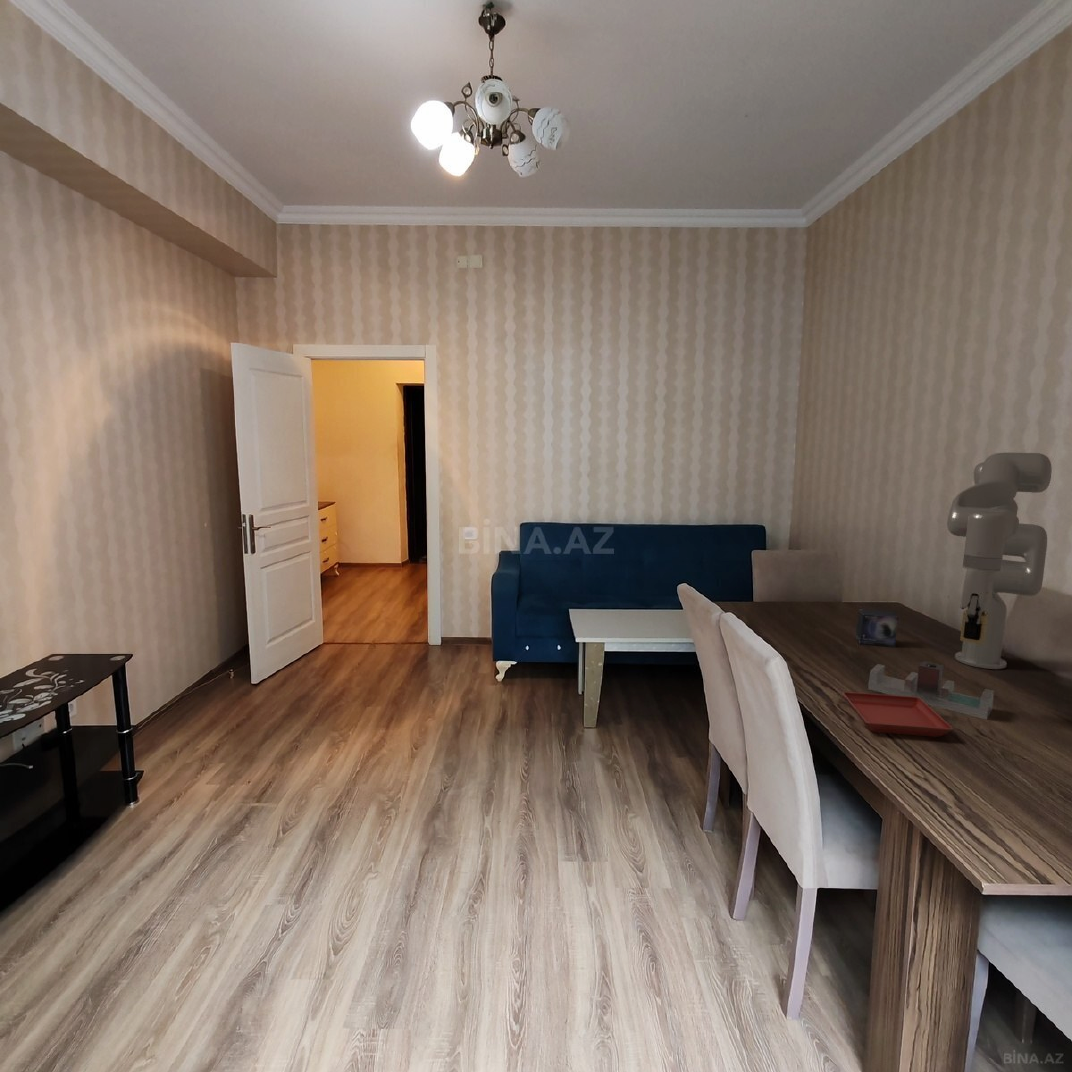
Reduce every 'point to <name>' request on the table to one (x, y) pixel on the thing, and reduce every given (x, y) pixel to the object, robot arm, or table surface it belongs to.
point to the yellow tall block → (983, 628)
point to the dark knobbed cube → (929, 678)
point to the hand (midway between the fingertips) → (973, 635)
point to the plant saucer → (897, 714)
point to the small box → (876, 628)
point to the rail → (943, 700)
